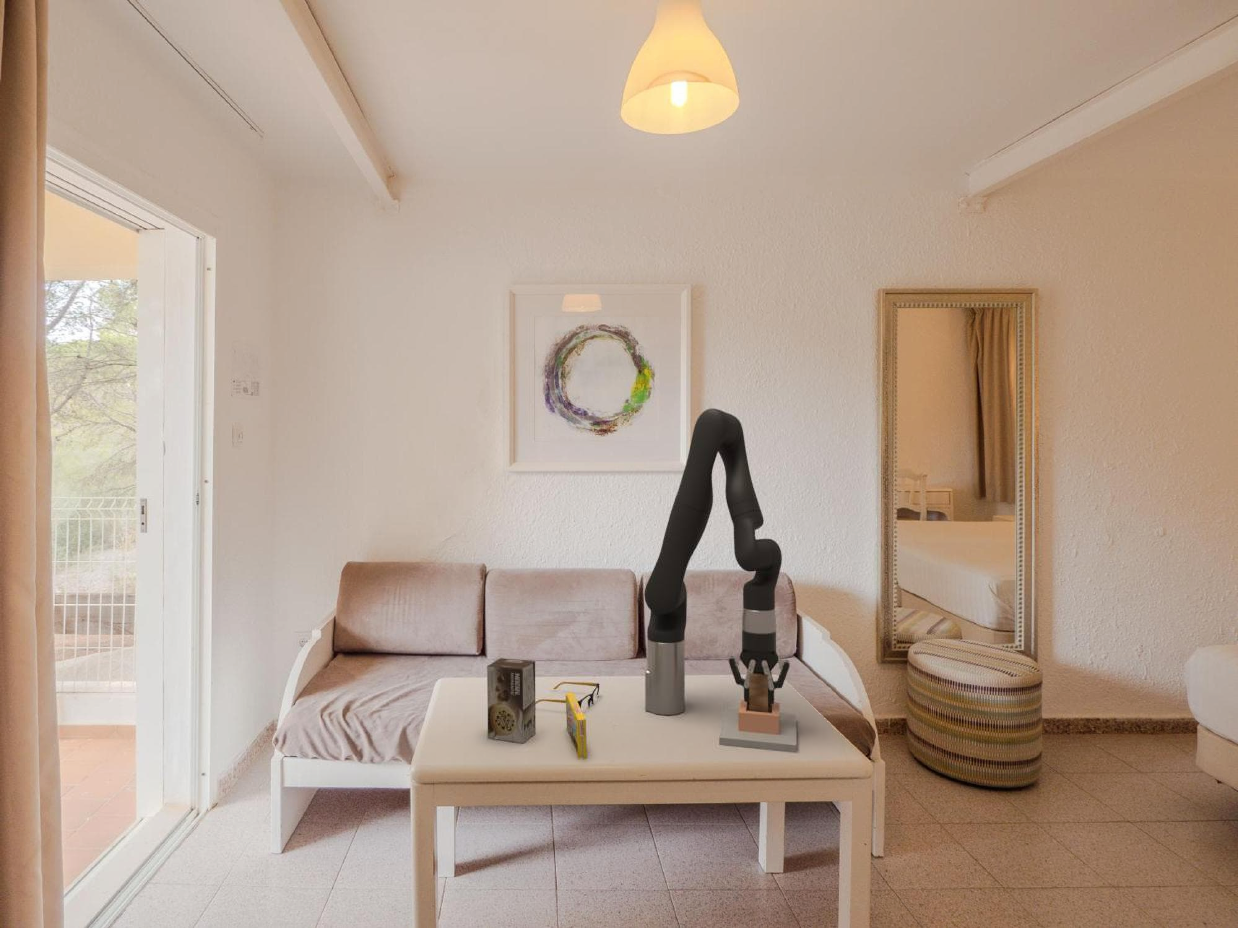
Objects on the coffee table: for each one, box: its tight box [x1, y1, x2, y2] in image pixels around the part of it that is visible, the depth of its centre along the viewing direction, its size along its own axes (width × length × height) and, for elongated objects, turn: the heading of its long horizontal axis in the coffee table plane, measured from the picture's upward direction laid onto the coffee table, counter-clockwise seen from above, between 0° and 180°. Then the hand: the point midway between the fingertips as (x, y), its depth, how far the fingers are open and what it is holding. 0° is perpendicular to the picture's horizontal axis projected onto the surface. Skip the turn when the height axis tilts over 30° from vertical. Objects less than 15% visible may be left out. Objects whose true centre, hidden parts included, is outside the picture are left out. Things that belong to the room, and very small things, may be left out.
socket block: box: [718, 699, 798, 753], centre depth 147 cm, size 16×18×6 cm
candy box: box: [565, 692, 588, 760], centre depth 141 cm, size 16×2×8 cm, turn 13°
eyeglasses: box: [535, 681, 600, 709], centre depth 166 cm, size 14×14×4 cm
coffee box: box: [486, 657, 537, 744], centre depth 145 cm, size 9×6×16 cm
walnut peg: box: [749, 673, 769, 713], centre depth 147 cm, size 4×4×10 cm
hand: (759, 704), depth 147 cm, fingers closed on walnut peg, 4 cm apart
